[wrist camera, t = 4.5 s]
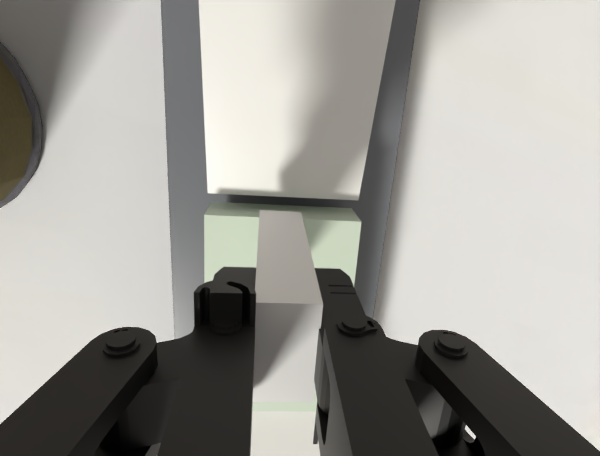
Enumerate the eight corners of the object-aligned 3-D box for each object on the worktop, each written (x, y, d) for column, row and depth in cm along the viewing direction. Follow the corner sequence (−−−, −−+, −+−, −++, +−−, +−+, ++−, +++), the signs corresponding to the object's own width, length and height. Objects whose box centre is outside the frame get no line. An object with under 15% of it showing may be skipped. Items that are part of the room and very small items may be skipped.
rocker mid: (210, 381, 20) (205, 411, 18) (211, 201, 17) (204, 215, 15) (333, 382, 21) (339, 411, 19) (351, 208, 18) (361, 221, 16)
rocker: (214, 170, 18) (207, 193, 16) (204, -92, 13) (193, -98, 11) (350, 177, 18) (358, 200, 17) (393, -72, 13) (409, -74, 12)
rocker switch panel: (192, 477, 29) (178, 547, 25) (176, -119, 17) (145, -184, 13) (337, 475, 30) (348, 543, 25) (414, -93, 18) (458, -145, 14)
